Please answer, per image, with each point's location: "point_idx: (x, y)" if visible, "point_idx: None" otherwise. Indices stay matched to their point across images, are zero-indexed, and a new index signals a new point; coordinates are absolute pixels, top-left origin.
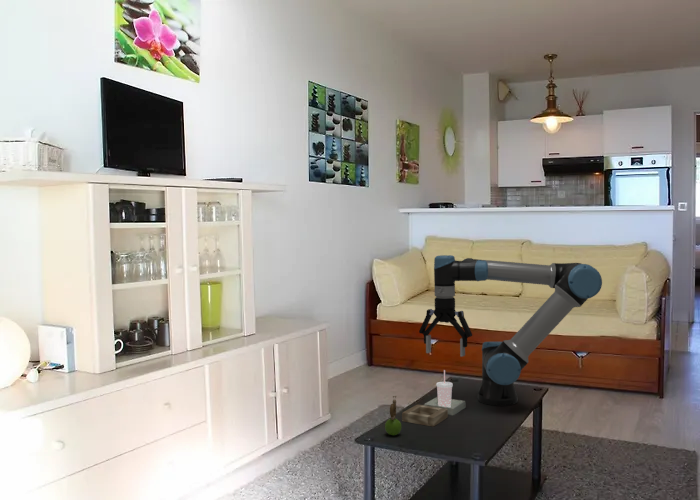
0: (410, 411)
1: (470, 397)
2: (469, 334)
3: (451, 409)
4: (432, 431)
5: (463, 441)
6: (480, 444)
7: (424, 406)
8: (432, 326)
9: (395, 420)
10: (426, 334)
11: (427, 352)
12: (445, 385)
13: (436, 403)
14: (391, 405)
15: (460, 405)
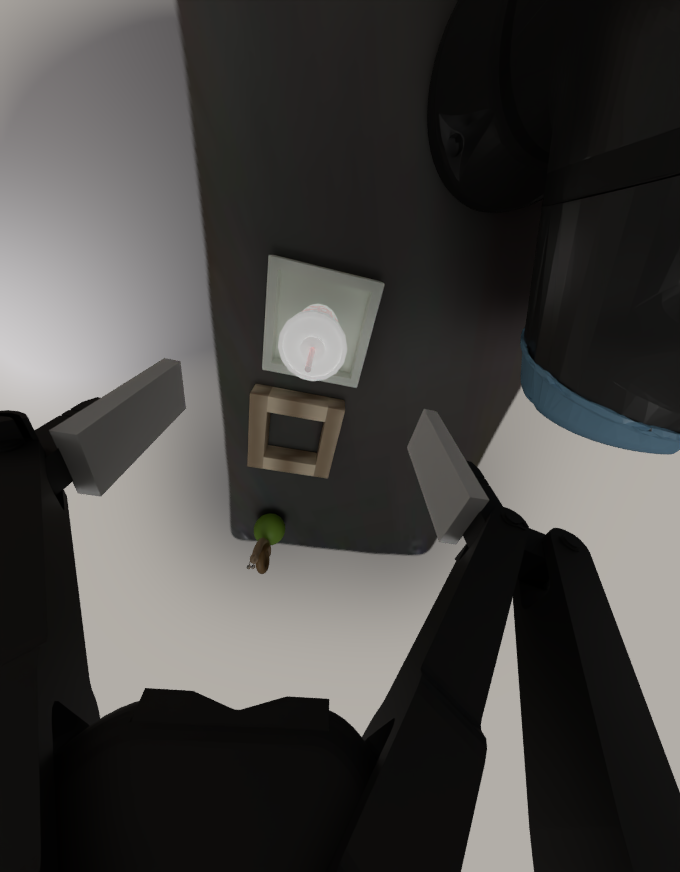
0: (261, 453)
1: (391, 64)
2: (545, 593)
3: (351, 385)
4: (332, 487)
5: (394, 512)
6: (423, 516)
7: (277, 405)
8: (75, 614)
9: (273, 543)
10: (64, 496)
11: (179, 409)
12: (323, 376)
13: (280, 286)
14: (260, 573)
15: (371, 331)
